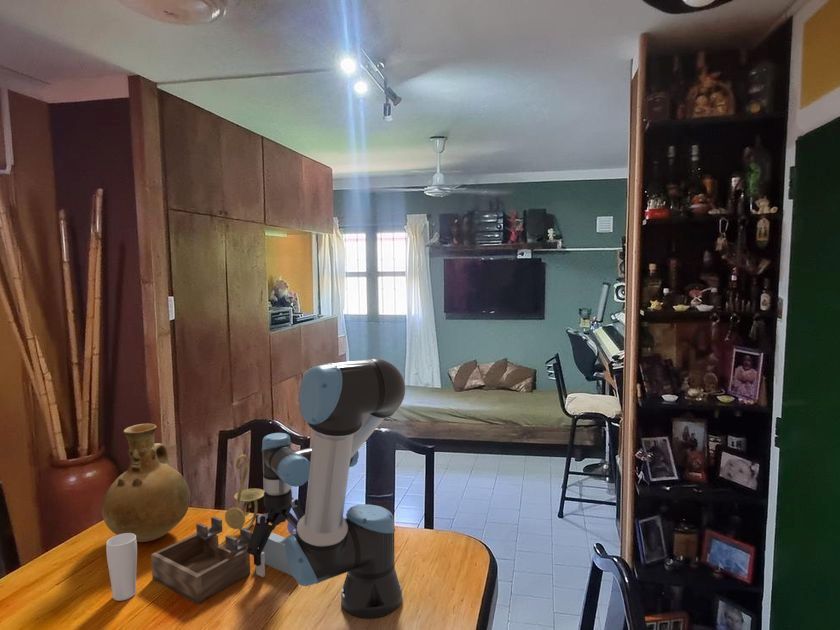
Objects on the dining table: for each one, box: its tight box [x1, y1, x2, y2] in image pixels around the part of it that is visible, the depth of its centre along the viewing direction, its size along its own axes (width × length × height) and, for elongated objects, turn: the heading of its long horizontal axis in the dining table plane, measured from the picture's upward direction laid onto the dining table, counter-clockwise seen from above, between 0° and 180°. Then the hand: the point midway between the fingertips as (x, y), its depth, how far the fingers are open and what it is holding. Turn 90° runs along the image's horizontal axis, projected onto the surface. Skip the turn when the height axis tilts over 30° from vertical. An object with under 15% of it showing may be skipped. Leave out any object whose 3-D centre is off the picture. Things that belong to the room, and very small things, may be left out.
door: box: [262, 531, 294, 577], centre depth 151 cm, size 14×4×8 cm, turn 57°
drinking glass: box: [105, 533, 138, 602], centre depth 137 cm, size 7×7×15 cm
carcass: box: [150, 516, 253, 605], centre depth 147 cm, size 20×18×11 cm
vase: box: [101, 423, 191, 543], centre depth 166 cm, size 24×24×35 cm
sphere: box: [286, 513, 305, 535], centre depth 168 cm, size 7×7×7 cm
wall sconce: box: [224, 454, 265, 531], centre depth 171 cm, size 14×10×25 cm
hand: (280, 563), depth 151 cm, fingers open, 13 cm apart
